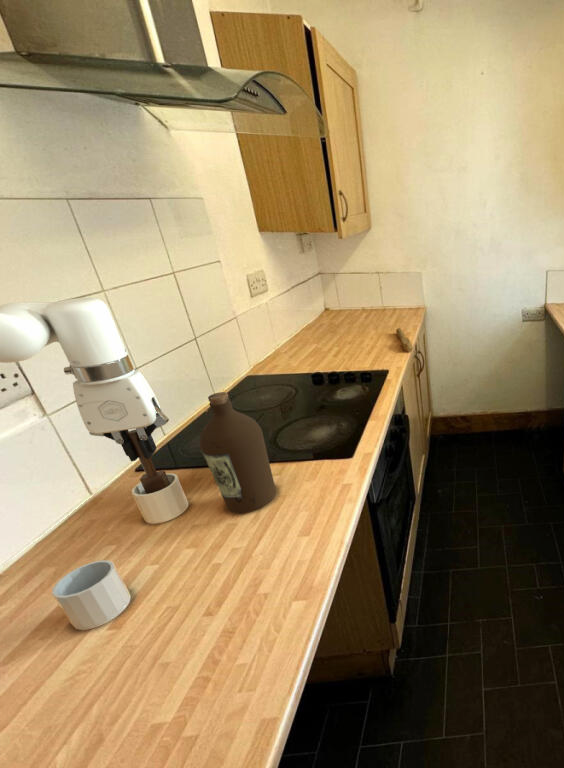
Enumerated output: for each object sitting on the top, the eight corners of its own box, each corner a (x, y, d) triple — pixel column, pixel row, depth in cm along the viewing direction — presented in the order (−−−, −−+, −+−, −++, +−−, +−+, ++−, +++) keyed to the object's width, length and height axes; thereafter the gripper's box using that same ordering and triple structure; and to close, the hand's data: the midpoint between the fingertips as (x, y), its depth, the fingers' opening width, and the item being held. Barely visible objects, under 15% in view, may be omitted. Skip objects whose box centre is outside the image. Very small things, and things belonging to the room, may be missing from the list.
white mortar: (63, 636, 62) (40, 603, 59) (87, 598, 68) (68, 567, 65) (119, 621, 64) (100, 589, 61) (138, 586, 70) (121, 555, 67)
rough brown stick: (401, 327, 201) (412, 345, 175) (402, 333, 202) (413, 352, 177) (395, 328, 200) (405, 346, 174) (396, 334, 201) (405, 353, 176)
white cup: (138, 527, 82) (124, 499, 80) (153, 504, 89) (141, 477, 86) (181, 518, 85) (170, 490, 82) (193, 496, 91) (182, 470, 88)
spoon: (147, 495, 83) (118, 435, 78) (150, 490, 85) (123, 431, 79) (168, 491, 85) (142, 431, 79) (171, 486, 86) (145, 427, 80)
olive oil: (255, 480, 96) (223, 381, 86) (290, 489, 93) (261, 387, 83) (211, 509, 87) (169, 403, 77) (249, 521, 84) (210, 411, 74)
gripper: (33, 384, 68) (83, 476, 76) (148, 370, 73) (184, 458, 80) (61, 368, 75) (104, 454, 82) (165, 356, 79) (196, 439, 87)
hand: (143, 455), depth 81 cm, fingers closed on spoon, 1 cm apart
